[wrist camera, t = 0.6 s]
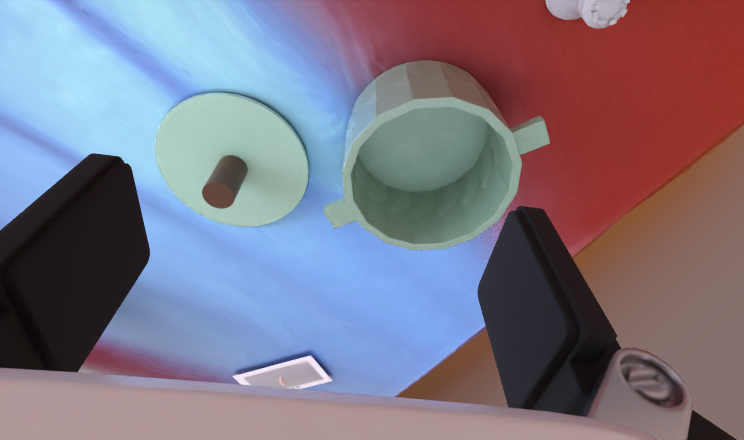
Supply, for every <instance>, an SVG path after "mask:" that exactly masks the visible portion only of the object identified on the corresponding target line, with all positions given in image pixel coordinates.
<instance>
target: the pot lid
mask: <svg viewBox="0 0 744 440" xmlns="http://www.w3.org/2000/svg"><path fill="white" fill-rule="evenodd" d="M155 156H156V161H157V165H158V168H159V170H160V173H161V175H162V177H163V179H164V181H165V182H166V184H167V185H168V187H169V188H170V189H171V191H172V192H173V193H174V194H175V195H176V196H177V197H178V198H179V199H180V200H181V201H182V202H183V203H184V204H186V205H187V206H188V207H189V208H191V209H192V210H194V211H195V212H197V213H199V214H201V215H202V216H204V217H206V218H209V219H211V220H214V221H216V222H220V223H223V224H227V225H232V226H241V227H252V226H261V225H265V224H269V223H272V222H275V221H277V220H279V219H281V218H283V217H284V216H286V215H287V214H289V213H290V212H291V211H292V210H293V209H294V208H295V207H296V206H297V205H298V204H299V202H300V201H301V199H302V197H303V196H304V193H305V191H306V188H307V183H308V178H309V165H308V159H307V155H306V151H305V149H304V146H303V144H302V142H301V140H300V139H299V137H298V135H297V134H296V132H295V131H294V130H293V128H292V127H291V126H290V125H289V124H288V123H287V122H286V121H285V120H284V119H283V118H282V117H281V116H280V115H279V114H277V113H276V112H275V111H273V110H272V109H270V108H269V107H267V106H266V105H264V104H262V103H260V102H258V101H256V100H253V99H250V98H248V97H245V96H241V95H237V94H231V93H205V94H200V95H196V96H193V97H190V98H188V99H186V100H184V101H182V102H181V103H179V104H178V105H176V106H175V107H174V108H173V109H172V110H171V111H170V112H169V113H168V114H167V115H166V116H165V118H164V119H163V120H162V122H161V124H160V126H159V128H158V131H157V135H156V140H155Z"/></svg>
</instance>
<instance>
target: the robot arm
mask: <svg viewBox="0 0 744 440" xmlns="http://www.w3.org/2000/svg"><path fill="white" fill-rule="evenodd" d="M149 256H150V248H149V244H148V240H147V235H146V231H145V226H144V222H143V217H142V213H141V208H140V204H139V200H138V195H137V191H136V186H135V182H134V177H133V173H132V169H131V167H130V165H129V164H126V163H124V161H123V160H122V158H120V157H119V156H111V155H102V154H90V155H88V156H87V157H86V158H85V159H84V160H82V161H81V162H80V163H79V164H78V165H77V166H75V167H74V168H73V169H72V170H71V171H70V172H68V173H67V174H66V175H65V176H64V177H63V178H61V179H60V180H59V181H58V182H57V183H56V184H54V185H53V186H52V187H51V188H50V189H48V190H47V191H46V192H45V193H44V194H43V195H41V196H40V197H39V198H38V199H37V200H36V201H34V202H33V203H32V204H31V205H30V206H29V207H27V208H26V209H25V210H24V211H23V212H22V213H20V214H19V215H18V216H17V217H16V218H14V219H13V220H12V221H11V222H10V223H9V224H7V225H6V226H5V227H4V228H3V229H2V230H0V440H736V439H735V438H734V437H732V436H730V435H729V434H728V433H726V432H725V431H723V430H722V429H720V428H718V427H717V426H716V425H714V424H713V423H711V422H709V421H708V420H707V419H705V418H703V417H702V416H701V415H699V414H698V413H696V412H695V411H693V410H692V408H693V396H692V393H691V391H690V389H689V387H688V384H687V383H686V382H685V380H684V379H683V378H682V376H681V375H680V374H679V373H678V372H677V371H676V370H675V369H674V368H673V367H672V366H671V365H669V364H668V363H667V362H665V361H663V360H662V359H661V358H659V357H658V356H655V355H653V354H651V353H649V352H647V351H644V350H641V349H637V348H623V349H621V347H620V346H619V344H618V342H617V340H616V337H617V335H616V333H615V331H614V329H613V328H612V326H611V324H610V323H609V321H608V319H607V317H606V316H605V314H604V312H603V310H602V309H601V307H600V305H599V304H598V302H597V300H596V298H595V297H594V295H593V293H592V292H591V290H590V288H589V286H588V285H587V283H586V281H585V280H584V278H583V276H582V274H581V273H580V271H579V269H578V268H577V266H576V264H575V262H574V260H573V259H572V257H571V255H570V254H569V252H568V250H567V248H566V247H565V245H564V243H563V242H562V240H561V238H560V236H559V235H558V233H557V231H556V230H555V228H554V226H553V224H552V223H551V221H550V219H549V217H548V216H547V214H546V212H545V211H544V210H543V209H541V208H533V207H525V206H520V207H518V208H517V209H516V211H510V212H509V214H508V216H507V218H506V220H505V223H504V225H503V228H502V230H501V232H500V235H499V237H498V240H497V242H496V244H495V247H494V249H493V252H492V254H491V256H490V259H489V261H488V264H487V266H486V268H485V271H484V273H483V276H482V278H481V280H480V283H479V286H478V299H479V303H480V306H481V310H482V314H483V317H484V321H485V325H486V328H487V331H488V335H489V339H490V342H491V346H492V350H493V353H494V357H495V361H496V364H497V368H498V372H499V375H500V378H501V382H502V385H503V390H504V393H505V397H506V400H507V404H508V407H498V406H489V405H479V404H467V403H456V402H444V401H432V400H421V399H420V400H419V399H409V398H397V397H386V396H374V395H362V394H350V393H338V392H325V391H313V390H301V389H288V388H276V387H263V386H251V385H238V384H226V383H213V382H200V381H186V380H173V379H160V378H146V377H133V376H120V375H106V374H93V373H79V372H78V371H79V369H80V367H81V366H82V364H83V363H84V361H85V360H86V358H87V357H88V355H89V353H90V352H91V350H92V349H93V347H94V346H95V344H96V343H97V341H98V339H99V338H100V336H101V335H102V333H103V332H104V330H105V329H106V327H107V325H108V324H109V322H110V321H111V319H112V318H113V316H114V315H115V313H116V311H117V310H118V308H119V307H120V305H121V304H122V302H123V301H124V299H125V297H126V296H127V294H128V293H129V291H130V290H131V288H132V287H133V285H134V283H135V282H136V280H137V279H138V277H139V276H140V274H141V272H142V271H143V269H144V268H145V266H146V265H147V263H148V260H149Z"/></svg>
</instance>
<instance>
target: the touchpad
mask: <svg viewBox="0 0 744 440" xmlns="http://www.w3.org/2000/svg"><path fill="white" fill-rule="evenodd" d="M233 377H234V378H235V379H236V380H237V381H238V382H239V383H240V384H241V385H251V386H263V387H276V388H288V389H302V388H306V387H310V386H314V385H318V384H322V383H326V382H330V381H332V380H331V378H330V377H329V376H328V375H327V374H326V372H325V371H324V370H323V369H322V368H321V367H320V365H319V364H318V363H317V362H316V361H315V360H314V358H313V357H312V356H311V355H310V356H306V357H303V358H299V359H295V360H291V361H288V362H284V363H280V364H276V365H273V366H269V367H265V368H261V369H258V370H254V371H250V372H247V373H243V374H239V375H235V376H233Z"/></svg>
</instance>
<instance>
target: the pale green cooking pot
mask: <svg viewBox="0 0 744 440" xmlns="http://www.w3.org/2000/svg"><path fill="white" fill-rule="evenodd" d="M547 144H550V140H549V136H548V132H547V129H546V125H545V121H544V119H543V118H542V117H541V116H537V117H535V118H533V119H530V120H528V121H526V122H523V123H521V124H518V125H516V126H514V127H511V128H509V126H508V125H507V123H506V121H505V120H504V118H503V117H502V115H501V113H500V112H499V110H498V109H497V107H496V105H495V104H494V102H493V101H492V99H491V97H490V96H489V94H488V93H487V91H486V90H485V89H484V88H483V87H482V86H481V85H480V84H479V83H478V82H477V80H475V79H474V78H473V77H472V76H471V75H470V74H469V73H468V72H466V71H464V70H462V69H460V68H458V67H456V66H454V65H451V64H448V63H444V62H440V61H432V60H420V61H412V62H408V63H404V64H400V65H398V66H395V67H393V68H391V69H389V70H387V71H385V72H384V73H382V74H380V75H379V76H378V77H376V78H375V79H374V80H373V81H372V82H371V83H370V84H369V85H368V86H367V87H366V88H365V89H364V90H363V92H362V93H361V94H360V96H359V97H358V99H357V100H356V101H355V104H354V107H353V110H352V112H351V116H350V119H349V122H348V126H347V132H346V141H345V150H344V158H343V167H342V180H343V188H344V196H345V197H343V198H341V199H339V200H336V201H334V202H331V203H329V204H327V205H324V207H323V212H324V214H325V215H326V217H327V218H328V220H329V221H330V222H331V224H332V225H333V227H334V228H335V229H336V228H338V227H341V226H343V225H346V224H348V223H351V222H353V221H356V220H357V221H358V223H359V224H360V226H361V227H363V228H364V229H366V230H367V231H369V232H370V233H371V234H373V235H374V236H376V237H377V238H379V239H380V240H382V241H383V242H385V243H388V244H391V245H395V246H399V247H403V248H407V249H410V250H431V249H446V248H449V247H452V246H454V245H457V244H460V243H463V242H466V241H469V240H471V239H474V238H476V237H477V236H478V235H480V234H481V233H482V232H484V231H485V230H486V229H488V228H489V227H490V226H492V225H493V224H494V223H496V222H497V221H498V220H499V219H500V218H501V217H502V215H503V213H504V212H505V210H506V209H507V207H508V206H509V204H510V203H511V201H512V200H513V198H514V197H515V195H516V193H517V190H518V184H519V178H520V172H521V167H522V161H521V157H520V155H522V154H525V153H527V152H530V151H532V150H535V149H537V148H540V147H542V146H545V145H547Z"/></svg>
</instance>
